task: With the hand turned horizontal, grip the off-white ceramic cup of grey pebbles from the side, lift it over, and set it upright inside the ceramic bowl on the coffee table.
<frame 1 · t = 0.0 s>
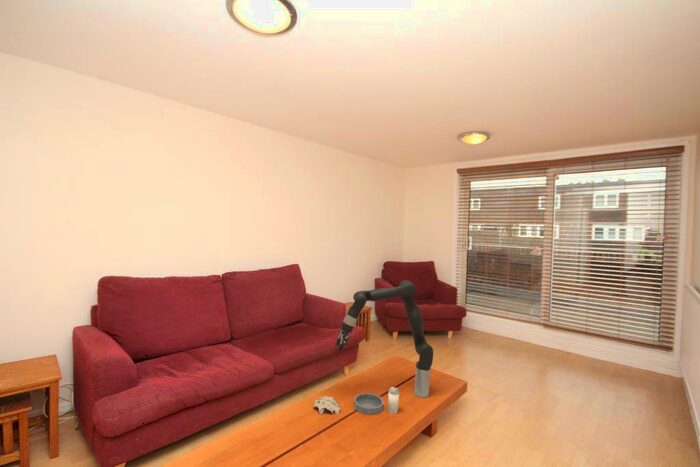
hand: (338, 347, 199), 31 cm above the table, tool tilted 20°, fingers open, 8 cm apart
bowl: (368, 406, 194), on the table
coral: (325, 409, 189), on the table
pebble cup: (392, 410, 191), on the table
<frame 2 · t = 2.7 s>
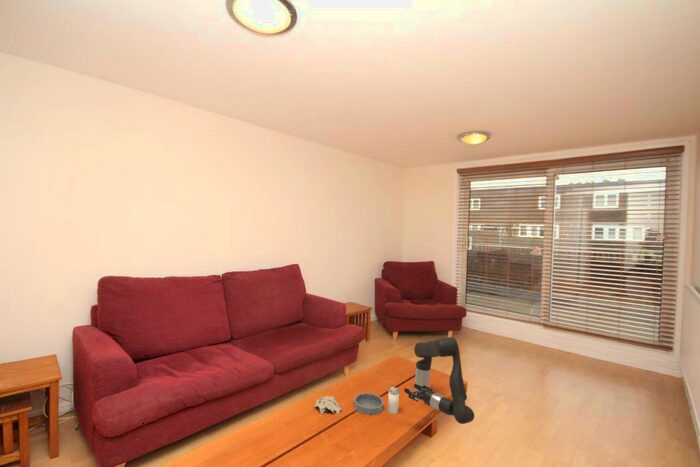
hand: (409, 387, 182), 18 cm above the table, tool horizontal, fingers open, 8 cm apart
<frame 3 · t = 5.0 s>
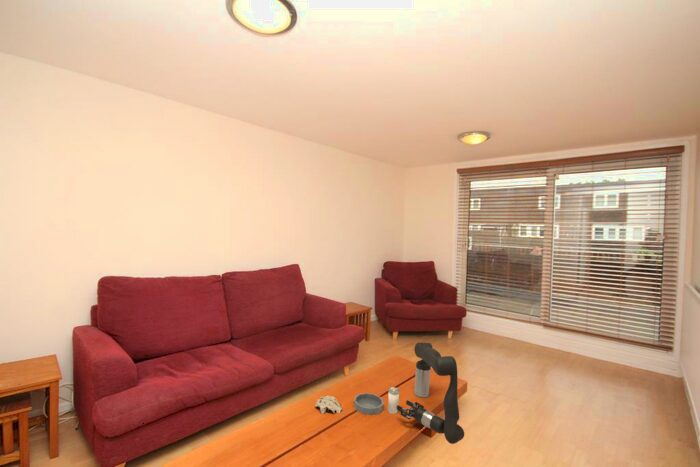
hand: (401, 404, 186), 6 cm above the table, tool horizontal, fingers open, 8 cm apart
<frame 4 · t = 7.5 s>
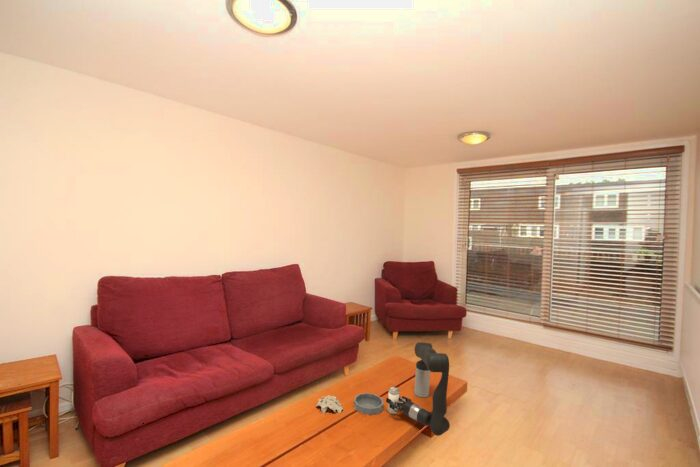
hand: (390, 397, 192), 7 cm above the table, tool horizontal, fingers closed on pebble cup, 6 cm apart
pebble cup: (392, 410, 191), on the table, touching gripper
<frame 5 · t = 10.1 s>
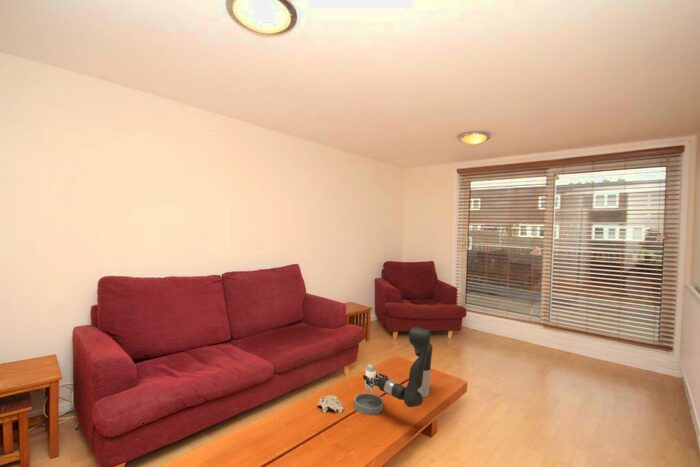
hand: (367, 375, 195), 18 cm above the table, tool horizontal, fingers closed on pebble cup, 6 cm apart
pebble cup: (369, 387, 193), point 11 cm above the table, touching gripper
when the fingers open (9 cm above the table, at t = 12.7 s): pebble cup drops 1 cm, resting on bowl.
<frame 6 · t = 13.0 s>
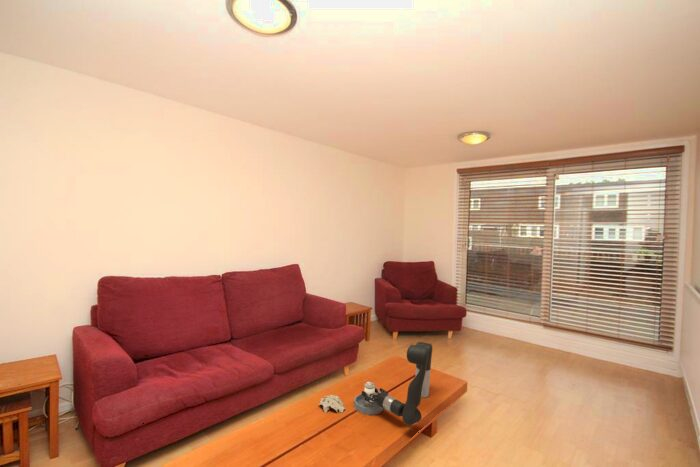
hand: (367, 390, 195), 9 cm above the table, tool horizontal, fingers open, 8 cm apart
pebble cup: (368, 405, 194), point 1 cm above the table, touching bowl
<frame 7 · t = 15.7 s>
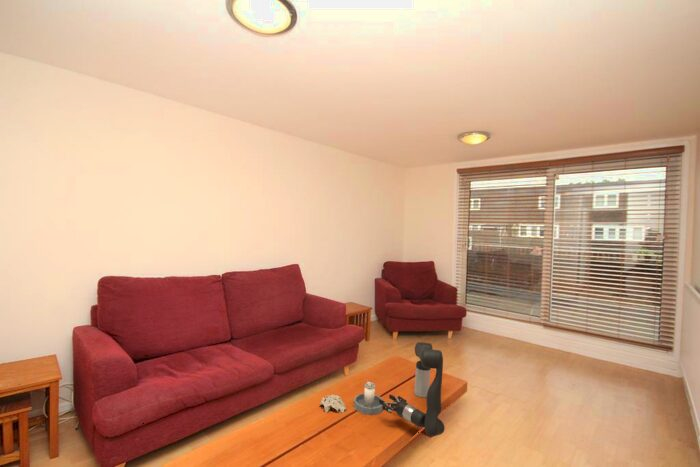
hand: (384, 398, 185), 10 cm above the table, tool horizontal, fingers open, 8 cm apart
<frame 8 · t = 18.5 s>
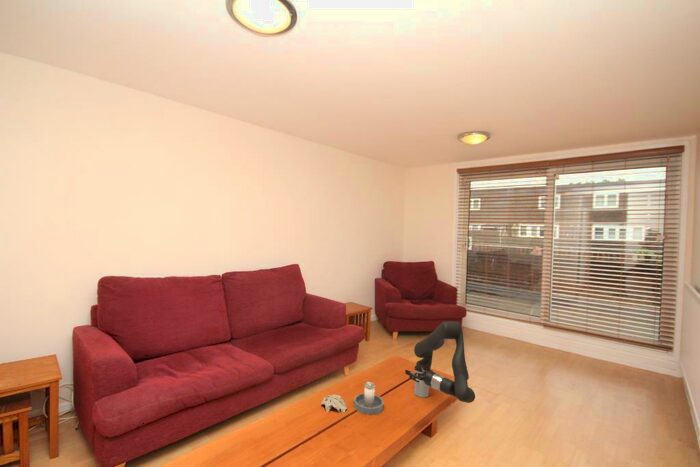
hand: (410, 369, 182), 28 cm above the table, tool horizontal, fingers open, 8 cm apart
at the end: pebble cup inside the target area on the bowl (0.1 cm from its centre), point 0.8 cm above the bowl's base; pebble cup tilted 0°; the gripper is holding nothing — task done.
